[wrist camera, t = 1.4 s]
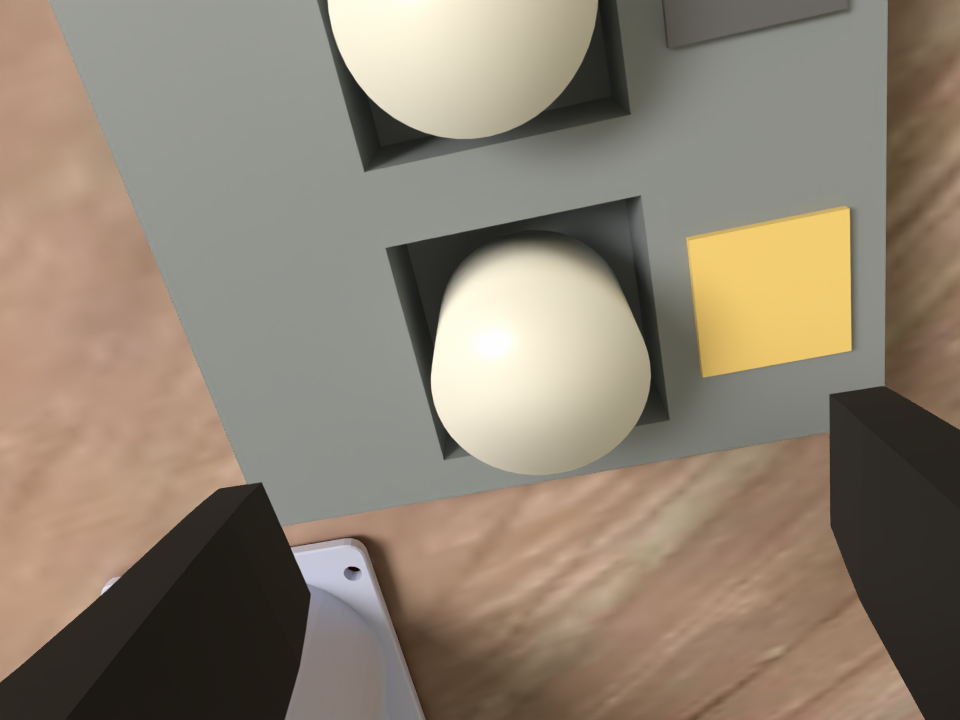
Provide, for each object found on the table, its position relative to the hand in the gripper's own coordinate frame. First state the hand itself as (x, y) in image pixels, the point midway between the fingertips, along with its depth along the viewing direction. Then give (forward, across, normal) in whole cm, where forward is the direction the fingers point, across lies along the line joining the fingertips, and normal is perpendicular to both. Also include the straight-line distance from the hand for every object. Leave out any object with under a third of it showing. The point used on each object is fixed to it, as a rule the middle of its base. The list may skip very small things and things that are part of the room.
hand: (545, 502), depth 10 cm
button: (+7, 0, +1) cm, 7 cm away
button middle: (+8, 0, -5) cm, 10 cm away
